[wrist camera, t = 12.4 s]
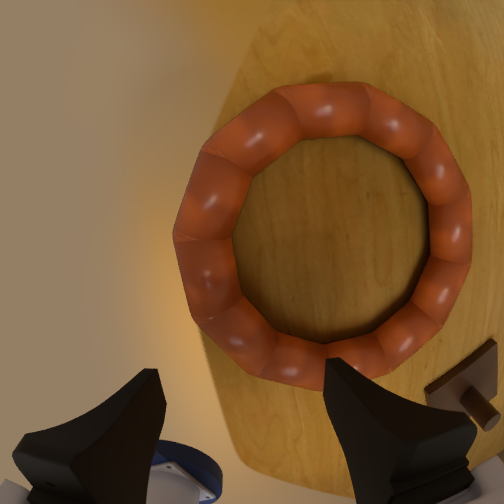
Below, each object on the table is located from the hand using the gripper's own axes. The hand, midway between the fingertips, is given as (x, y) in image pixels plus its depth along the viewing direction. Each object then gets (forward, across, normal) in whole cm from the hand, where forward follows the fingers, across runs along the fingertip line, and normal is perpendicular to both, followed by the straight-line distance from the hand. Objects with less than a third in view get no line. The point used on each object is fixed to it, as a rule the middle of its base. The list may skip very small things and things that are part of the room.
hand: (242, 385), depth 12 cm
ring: (+5, -6, -4) cm, 9 cm away
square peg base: (+7, -20, +10) cm, 23 cm away
